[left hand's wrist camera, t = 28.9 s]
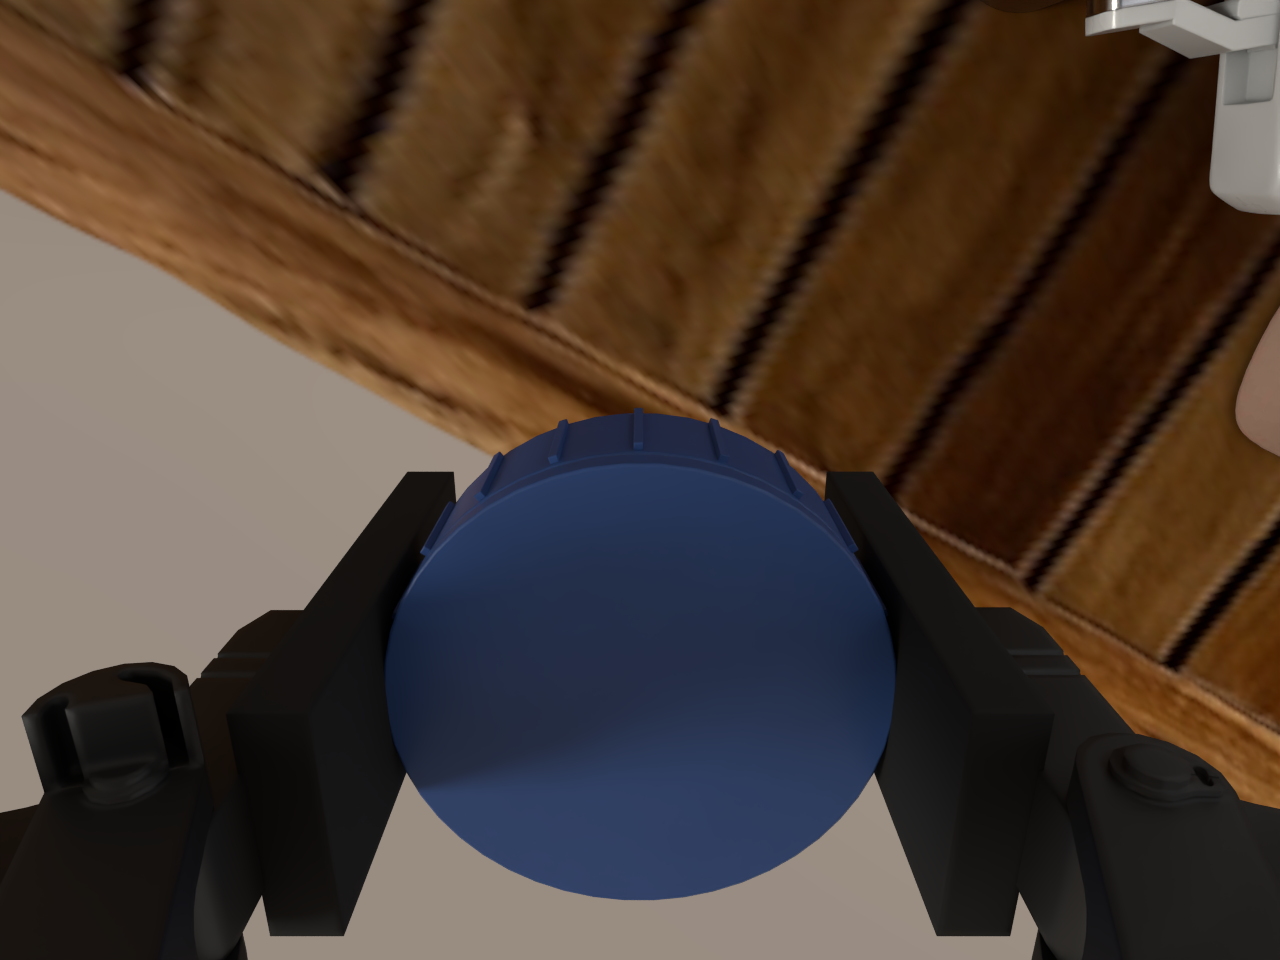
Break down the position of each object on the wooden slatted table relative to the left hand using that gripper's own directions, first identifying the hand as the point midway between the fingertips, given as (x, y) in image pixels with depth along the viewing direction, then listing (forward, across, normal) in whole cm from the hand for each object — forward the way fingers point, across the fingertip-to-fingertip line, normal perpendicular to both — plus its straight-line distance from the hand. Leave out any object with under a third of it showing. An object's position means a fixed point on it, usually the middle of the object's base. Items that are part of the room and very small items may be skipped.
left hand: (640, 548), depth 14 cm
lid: (-4, 0, 0) cm, 4 cm away
